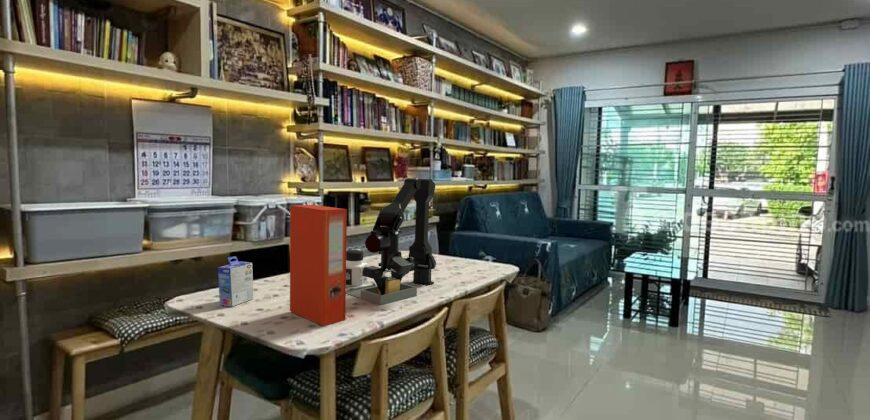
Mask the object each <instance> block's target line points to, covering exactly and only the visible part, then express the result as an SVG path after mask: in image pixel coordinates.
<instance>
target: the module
mask: <svg viewBox="0 0 870 420" xmlns="http://www.w3.org/2000/svg"><path fill="white" fill-rule="evenodd" d="M387 277H388V278H387V280H386V281H385V294H389V293H393V292H397V291H400V283H401V282H400V279H396V278H393V277H391V276H387ZM379 295H381V293H380V291H379Z"/></svg>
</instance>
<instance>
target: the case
mask: <svg viewBox="0 0 870 420" xmlns="http://www.w3.org/2000/svg"><path fill="white" fill-rule="evenodd" d="M417 293H418V287H416V286H414V285H409V284H406V283H403V282H400V291H397V292H393V293H389V294H384V295H379V289H378V286H376V287H372V288H367V289H363V290H361V298H360V300H363V301H366V302H370V303H372V304H376V305H377V306H383V305H387V304H390V303H395V302H399V301H402V300H406V299H410V298H414V297H417V296H418V295H417Z"/></svg>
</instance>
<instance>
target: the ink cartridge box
mask: <svg viewBox="0 0 870 420" xmlns="http://www.w3.org/2000/svg"><path fill="white" fill-rule="evenodd" d="M231 260H232V261H231ZM227 261H228V264H225V265H222V266H218V267H217V275H218V277H217V278H218V293H219V306H223V305H224V306H223V307H230V308H231V307H235V306H237V305H240V304H243V303H245V302H248V301H251V300H253V299H254V280H253V279H254V276H253V275H254V274H253V262H249V261H244V260H243V261H239V259H238V257H237V256H236V255H235V256H229V257H227Z"/></svg>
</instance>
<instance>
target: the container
mask: <svg viewBox="0 0 870 420" xmlns="http://www.w3.org/2000/svg"><path fill="white" fill-rule="evenodd" d="M364 267H368V262H364V251H363V250H361V249H359V248H358V249H355V248H353V249H348V250H347V249H346V288H349V287H357V286H362V285H365V284H367V283H368V277H365V276H362V271H363V269H364Z"/></svg>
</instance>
